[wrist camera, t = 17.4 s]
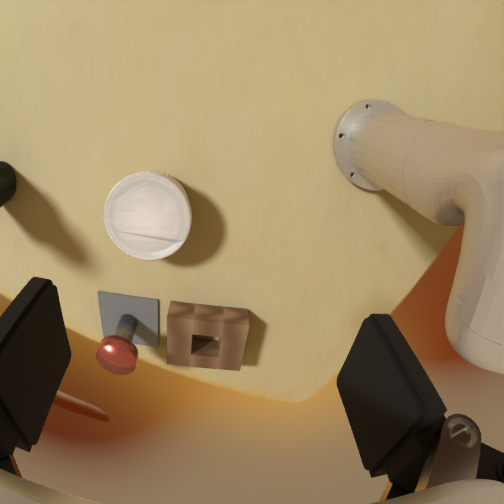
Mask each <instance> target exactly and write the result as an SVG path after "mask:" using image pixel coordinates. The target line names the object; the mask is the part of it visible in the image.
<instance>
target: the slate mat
mask: <svg viewBox="0 0 504 504" xmlns="http://www.w3.org/2000/svg"><path fill="white" fill-rule="evenodd" d="M98 298H99V307H100V314H101V322H102V328H103V335H104V337H106V336H109V335H114V334H115V331H116V328H117V325H118V323H119V320H120V318H121V316H122V315H124V314H130V315H132V316H134V317H135V318H136V320H137V327H136V330H135V333H134V336H133V340H132V343H133V344H140V345H147V346H154V347H159V339H158V299H151V298H144V297H136V296H129V295H122V294H115V293H108V292H102V291H98Z"/></svg>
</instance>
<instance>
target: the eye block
mask: <svg viewBox="0 0 504 504" xmlns="http://www.w3.org/2000/svg"><path fill="white" fill-rule="evenodd" d="M249 326H250V324H249V315H248V309H242V308H231V307H221V306H211V305H202V304H193V303H184V302H176V301H171V302H170V307H169V311H168V315H167V364H173V365H181V366H191V367H200V368H211V369H223V370H237V371H240V368H241V363H242V359H243V354H244V349H245V345H246V340H247V335H248V330H249ZM193 334H194V335H203V336H214V337H219V341H216V340H206V339H196V338H193Z"/></svg>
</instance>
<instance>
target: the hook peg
mask: <svg viewBox="0 0 504 504" xmlns="http://www.w3.org/2000/svg"><path fill="white" fill-rule="evenodd" d="M136 327H137V320H136V318H135V317H134V316H132V315H130V314H124V315H122V316H121V318H120V320H119V323H118V325H117V328H116V331H115V334H114V335H109V336H106V337H104V338H103V339H102V341H101V343H100V345H99V348H98V351H97V353H96V358H97V361H98V363H99V364H100V365H101V366H102V367H103V368H104V369H105V370H107V371H109V372H111V373H114V374H117V375H127V374H130V373H132V372H133V371H134V369H135V366H136V362H137V358H138V350H137V348H136V346H135V345H134V344H133V343H132V340H133V336H134V333H135V330H136Z"/></svg>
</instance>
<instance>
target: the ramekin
mask: <svg viewBox="0 0 504 504" xmlns="http://www.w3.org/2000/svg"><path fill="white" fill-rule="evenodd" d="M104 223H105V227H106V230H107V232H108V234H109V236H110V238H111V239H112V241H113V242H114V243H115V245H116V246H117V247H118V248H120V249H121V250H122V251H123V252H125V253H127V254H128V255H130V256H132V257H135V258H138V259H142V260H158V259H162V258H165V257H168V256H170V255H172V254H173V253H175V252H176V251H177V250H178V249H179V248H180V247H181V246H182V245H183V244H184V242H185V241H186V239H187V237H188V235H189V232H190V229H191V224H192V210H191V206H190V203H189V200H188V196H187V194H186V191H185V190H184V188H183V187H182V185H181V184H180V183H179V182H178V181H177V180H176V179H175V178H173V177H171V176H170V175H167V174H165V173H161V172H157V171H144V172H138V173H134V174H131V175H129V176H127V177H125V178H123V179H122V180H121V181H119V182H118V183H117V184H116V185H115V186H114V187H113V189H112V190H111V191H110V193H109V195H108V197H107V199H106V202H105V206H104Z"/></svg>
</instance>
